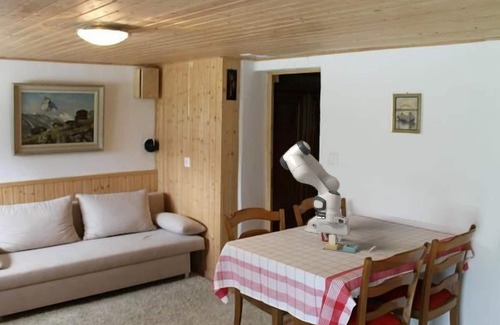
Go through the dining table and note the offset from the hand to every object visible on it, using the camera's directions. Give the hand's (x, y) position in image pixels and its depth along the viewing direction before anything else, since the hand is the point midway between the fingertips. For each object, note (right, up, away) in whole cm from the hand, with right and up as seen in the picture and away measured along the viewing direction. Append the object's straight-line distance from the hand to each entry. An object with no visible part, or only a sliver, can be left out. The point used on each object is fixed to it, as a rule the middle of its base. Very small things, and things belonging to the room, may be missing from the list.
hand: (332, 240), depth 309 cm
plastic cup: (-1, -4, +17) cm, 17 cm away
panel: (+5, -5, -2) cm, 8 cm away
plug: (0, -4, 0) cm, 4 cm away
